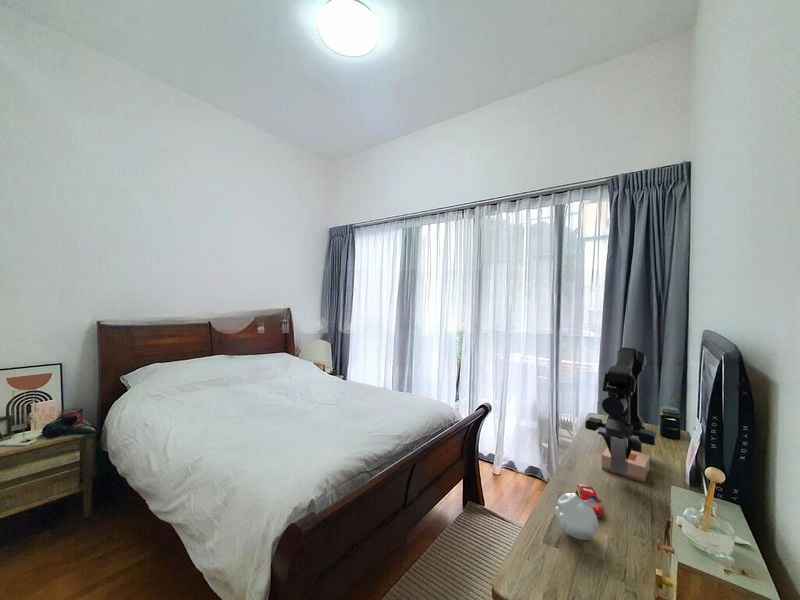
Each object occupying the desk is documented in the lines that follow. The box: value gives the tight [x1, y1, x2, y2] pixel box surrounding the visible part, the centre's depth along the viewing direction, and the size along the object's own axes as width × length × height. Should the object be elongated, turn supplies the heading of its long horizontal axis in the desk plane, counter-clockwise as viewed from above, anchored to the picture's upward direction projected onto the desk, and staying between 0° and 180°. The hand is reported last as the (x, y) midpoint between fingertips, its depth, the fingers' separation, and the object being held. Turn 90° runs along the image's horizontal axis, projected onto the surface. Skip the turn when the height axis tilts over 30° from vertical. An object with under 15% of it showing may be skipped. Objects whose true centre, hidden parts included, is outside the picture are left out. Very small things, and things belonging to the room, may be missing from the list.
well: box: [601, 446, 650, 484], centre depth 111 cm, size 12×12×5 cm
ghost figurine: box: [553, 492, 599, 541], centre depth 79 cm, size 9×10×10 cm
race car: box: [575, 483, 605, 520], centre depth 91 cm, size 13×5×4 cm, turn 160°
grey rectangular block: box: [611, 437, 628, 473], centre depth 103 cm, size 4×4×10 cm
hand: (619, 456), depth 103 cm, fingers closed on grey rectangular block, 4 cm apart
